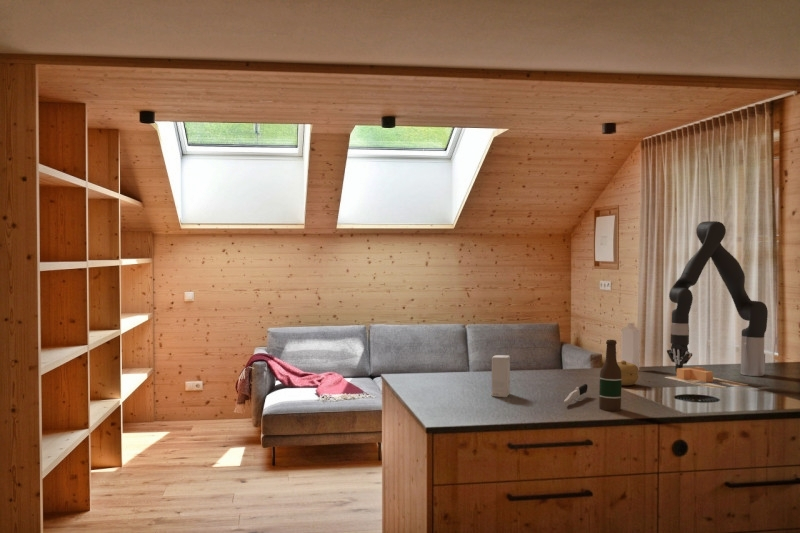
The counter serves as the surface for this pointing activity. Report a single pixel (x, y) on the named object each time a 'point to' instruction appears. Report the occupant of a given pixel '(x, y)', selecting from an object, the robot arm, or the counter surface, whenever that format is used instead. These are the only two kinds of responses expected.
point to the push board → (715, 384)
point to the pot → (628, 373)
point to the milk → (630, 344)
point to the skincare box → (501, 375)
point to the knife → (575, 394)
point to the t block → (695, 374)
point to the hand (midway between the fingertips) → (678, 372)
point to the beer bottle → (610, 380)
